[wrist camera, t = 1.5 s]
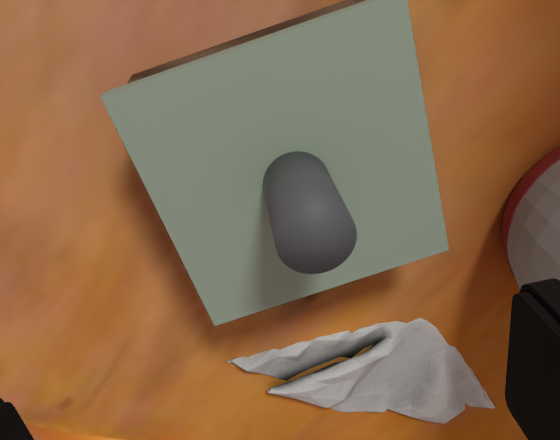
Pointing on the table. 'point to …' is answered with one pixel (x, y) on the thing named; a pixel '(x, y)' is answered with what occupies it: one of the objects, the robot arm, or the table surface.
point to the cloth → (377, 372)
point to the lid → (290, 158)
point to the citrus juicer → (534, 223)
